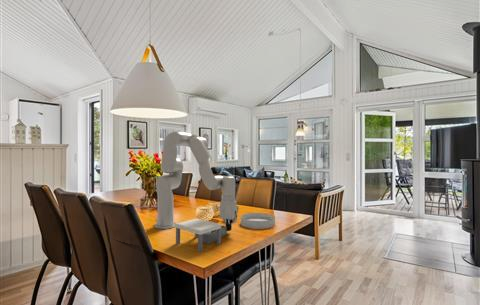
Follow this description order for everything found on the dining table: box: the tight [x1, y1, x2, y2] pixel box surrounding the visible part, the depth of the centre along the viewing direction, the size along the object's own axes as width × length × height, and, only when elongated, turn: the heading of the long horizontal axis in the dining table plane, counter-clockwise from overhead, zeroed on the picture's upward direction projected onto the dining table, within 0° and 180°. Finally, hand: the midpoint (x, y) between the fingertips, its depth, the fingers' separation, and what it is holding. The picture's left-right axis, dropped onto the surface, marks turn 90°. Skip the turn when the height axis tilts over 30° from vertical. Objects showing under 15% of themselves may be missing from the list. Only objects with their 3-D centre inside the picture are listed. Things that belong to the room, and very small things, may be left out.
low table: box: [175, 218, 222, 253], centre depth 134 cm, size 18×14×10 cm
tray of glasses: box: [203, 224, 228, 245], centre depth 144 cm, size 6×18×5 cm, turn 153°
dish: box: [240, 212, 276, 230], centre depth 172 cm, size 22×22×5 cm
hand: (228, 230), depth 152 cm, fingers closed
